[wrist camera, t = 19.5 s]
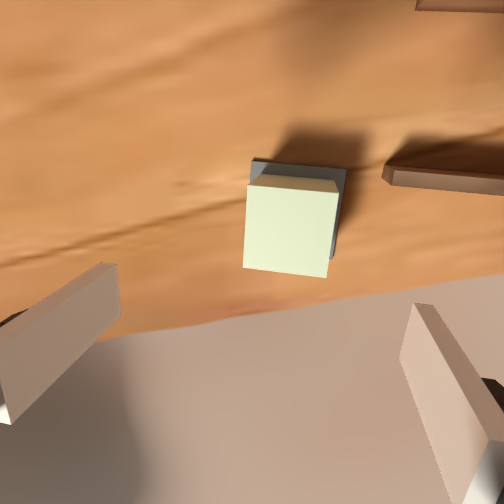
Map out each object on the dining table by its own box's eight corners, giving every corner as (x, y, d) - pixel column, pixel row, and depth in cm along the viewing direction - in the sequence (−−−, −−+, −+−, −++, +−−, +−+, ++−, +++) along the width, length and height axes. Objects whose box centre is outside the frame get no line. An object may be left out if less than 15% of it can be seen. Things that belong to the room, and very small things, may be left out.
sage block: (260, 173, 33) (247, 185, 27) (334, 180, 32) (338, 193, 26) (256, 241, 36) (242, 267, 29) (324, 249, 35) (326, 277, 28)
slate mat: (252, 160, 34) (251, 161, 33) (346, 169, 32) (346, 169, 32) (246, 247, 37) (245, 248, 36) (331, 257, 35) (332, 259, 35)
